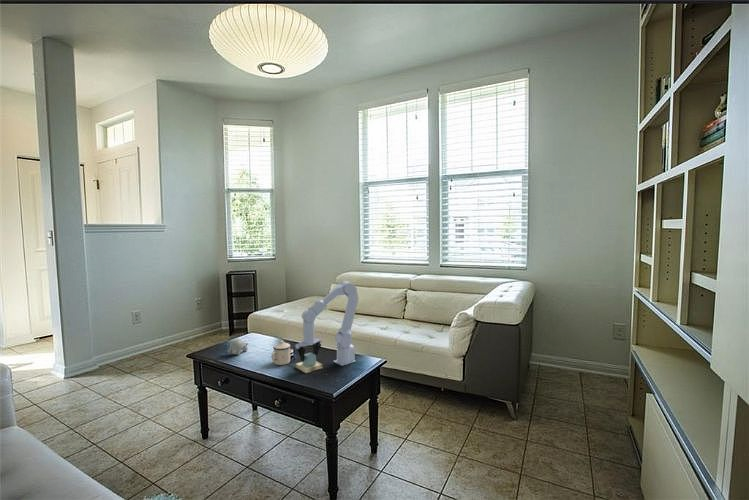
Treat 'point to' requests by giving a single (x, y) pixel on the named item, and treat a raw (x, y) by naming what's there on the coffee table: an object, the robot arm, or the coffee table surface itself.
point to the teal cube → (309, 359)
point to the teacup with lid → (281, 353)
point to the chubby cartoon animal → (237, 347)
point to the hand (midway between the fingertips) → (309, 359)
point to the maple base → (308, 369)
